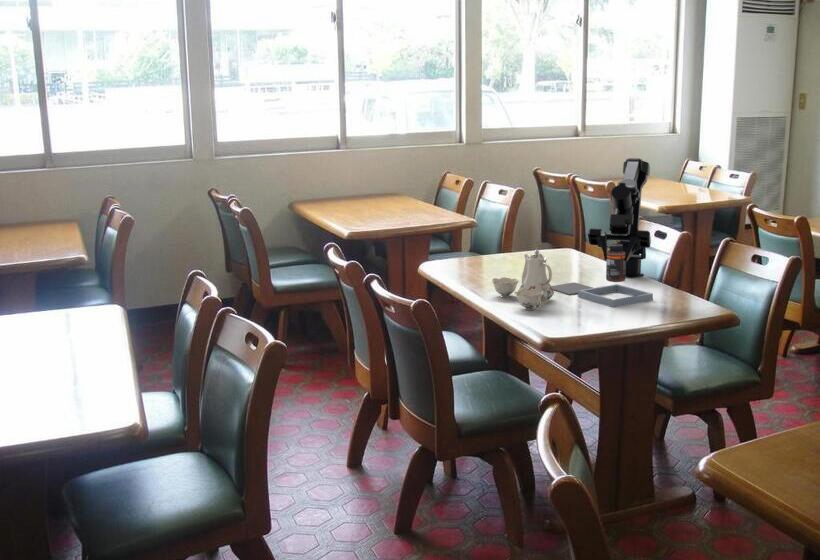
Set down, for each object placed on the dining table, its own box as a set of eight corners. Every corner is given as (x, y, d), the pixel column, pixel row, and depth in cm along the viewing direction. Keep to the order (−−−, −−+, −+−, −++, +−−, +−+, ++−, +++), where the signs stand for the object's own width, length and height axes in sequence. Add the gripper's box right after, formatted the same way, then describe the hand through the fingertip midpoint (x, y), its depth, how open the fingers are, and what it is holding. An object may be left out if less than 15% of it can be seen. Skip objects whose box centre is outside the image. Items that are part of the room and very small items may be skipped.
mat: (574, 283, 298) (574, 282, 298) (598, 290, 288) (598, 289, 288) (545, 288, 293) (545, 286, 293) (569, 295, 283) (569, 293, 282)
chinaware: (483, 299, 286) (478, 249, 282) (528, 289, 292) (524, 239, 288) (528, 320, 261) (524, 265, 257) (577, 307, 267) (573, 253, 263)
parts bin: (616, 290, 288) (616, 284, 288) (652, 300, 274) (652, 293, 274) (578, 296, 280) (578, 290, 280) (613, 307, 267) (613, 300, 266)
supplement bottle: (624, 278, 279) (625, 242, 276) (626, 282, 273) (628, 246, 271) (604, 278, 280) (605, 242, 277) (606, 282, 274) (608, 246, 271)
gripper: (589, 202, 278) (581, 244, 271) (651, 204, 271) (645, 247, 264) (593, 223, 287) (586, 264, 280) (653, 226, 280) (647, 267, 273)
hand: (615, 260), depth 274 cm, fingers closed on supplement bottle, 6 cm apart
